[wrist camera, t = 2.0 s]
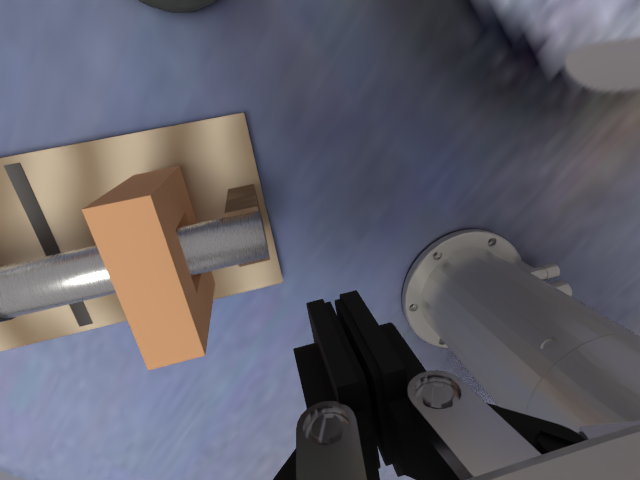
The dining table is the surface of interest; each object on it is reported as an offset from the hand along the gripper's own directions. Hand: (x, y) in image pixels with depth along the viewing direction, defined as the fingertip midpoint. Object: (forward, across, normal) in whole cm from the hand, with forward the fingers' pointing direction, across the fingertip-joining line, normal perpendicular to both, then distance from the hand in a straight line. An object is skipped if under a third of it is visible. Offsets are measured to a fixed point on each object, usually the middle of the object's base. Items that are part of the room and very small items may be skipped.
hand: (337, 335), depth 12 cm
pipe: (+14, +13, 0) cm, 19 cm away
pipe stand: (+21, +13, 0) cm, 25 cm away
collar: (+17, +8, 0) cm, 19 cm away
